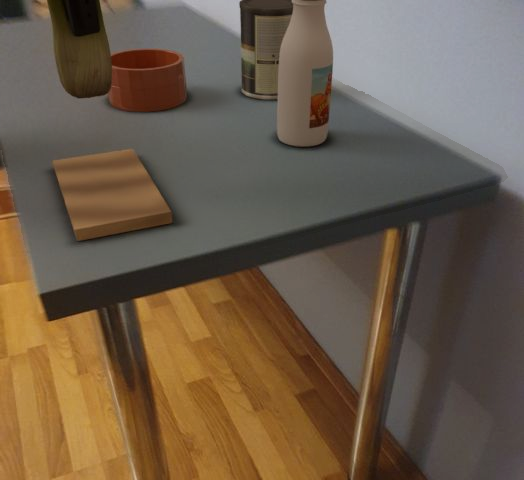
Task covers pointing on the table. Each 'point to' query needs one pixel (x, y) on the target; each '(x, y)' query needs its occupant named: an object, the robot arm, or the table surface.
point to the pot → (147, 80)
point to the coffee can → (262, 45)
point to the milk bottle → (305, 76)
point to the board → (109, 194)
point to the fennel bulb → (80, 55)
